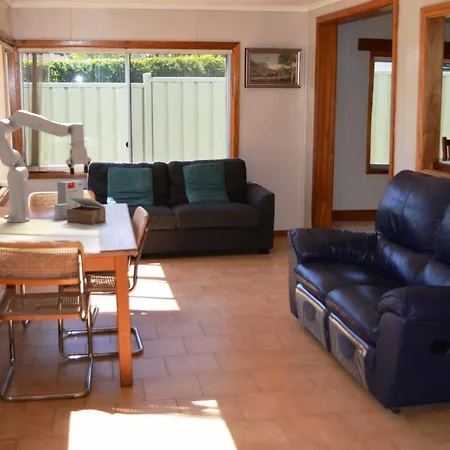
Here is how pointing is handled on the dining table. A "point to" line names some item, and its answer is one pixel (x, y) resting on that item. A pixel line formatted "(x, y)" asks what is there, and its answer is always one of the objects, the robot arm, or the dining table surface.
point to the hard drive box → (70, 192)
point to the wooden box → (86, 215)
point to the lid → (87, 202)
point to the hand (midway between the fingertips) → (79, 173)
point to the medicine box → (61, 211)
